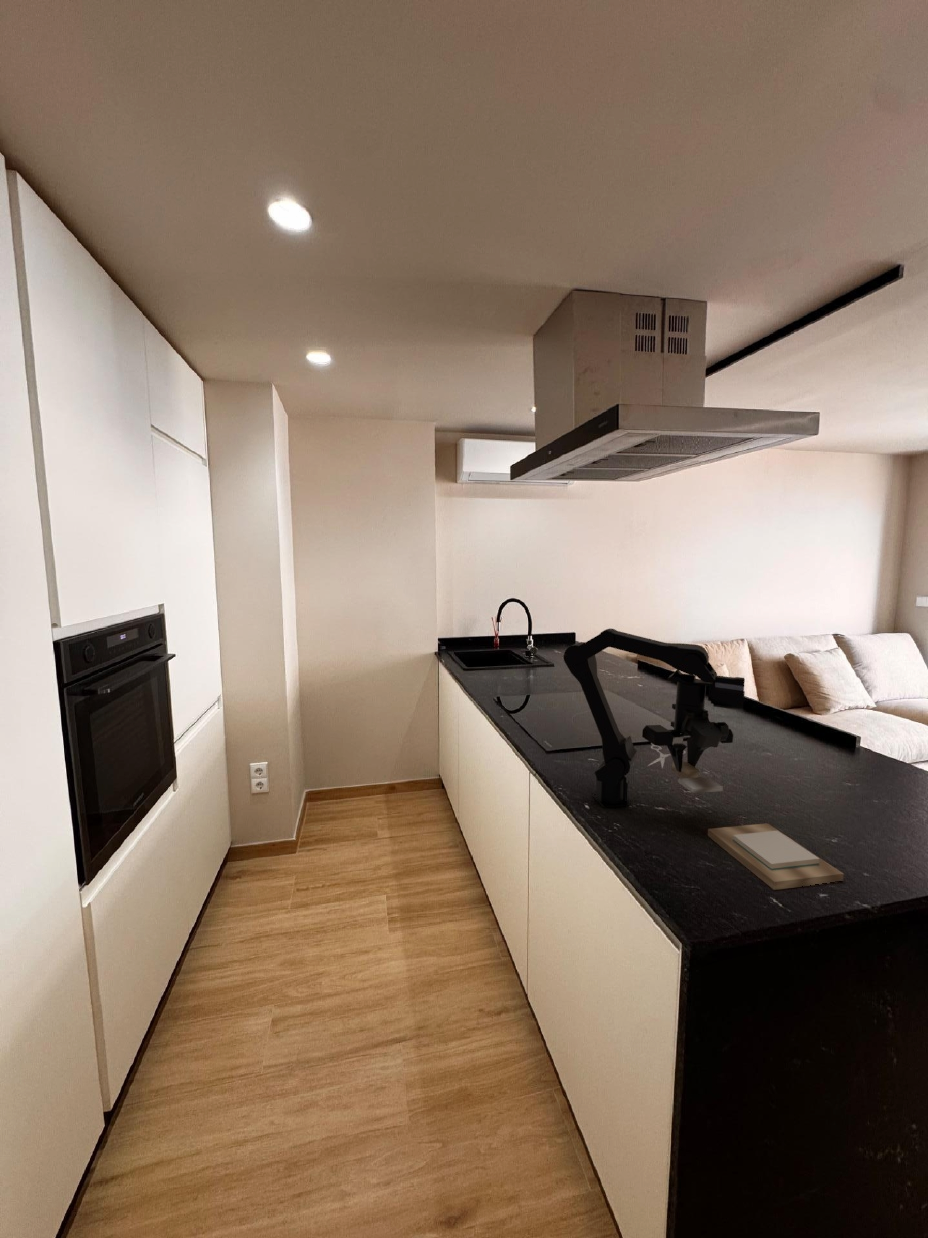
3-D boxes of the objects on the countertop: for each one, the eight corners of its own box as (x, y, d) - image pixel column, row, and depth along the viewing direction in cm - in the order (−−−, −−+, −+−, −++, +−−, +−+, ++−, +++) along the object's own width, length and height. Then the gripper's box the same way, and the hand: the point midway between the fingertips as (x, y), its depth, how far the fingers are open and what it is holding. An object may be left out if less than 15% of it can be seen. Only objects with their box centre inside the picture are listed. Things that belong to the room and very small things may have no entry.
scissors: (687, 749, 155) (674, 770, 138) (687, 751, 155) (674, 773, 138) (651, 742, 161) (635, 762, 144) (651, 745, 161) (635, 765, 144)
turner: (692, 792, 104) (693, 781, 103) (662, 770, 115) (663, 760, 114) (722, 791, 105) (723, 779, 105) (690, 769, 116) (691, 758, 115)
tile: (732, 840, 101) (771, 870, 91) (733, 835, 101) (771, 864, 91) (776, 836, 103) (819, 864, 93) (777, 830, 103) (819, 858, 93)
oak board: (773, 890, 88) (774, 882, 88) (707, 835, 106) (708, 829, 106) (842, 881, 90) (843, 873, 90) (766, 830, 108) (767, 823, 108)
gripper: (672, 715, 101) (666, 789, 103) (754, 712, 104) (748, 785, 106) (643, 699, 112) (638, 767, 114) (719, 698, 115) (713, 763, 117)
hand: (684, 771), depth 112 cm, fingers closed on turner, 2 cm apart
